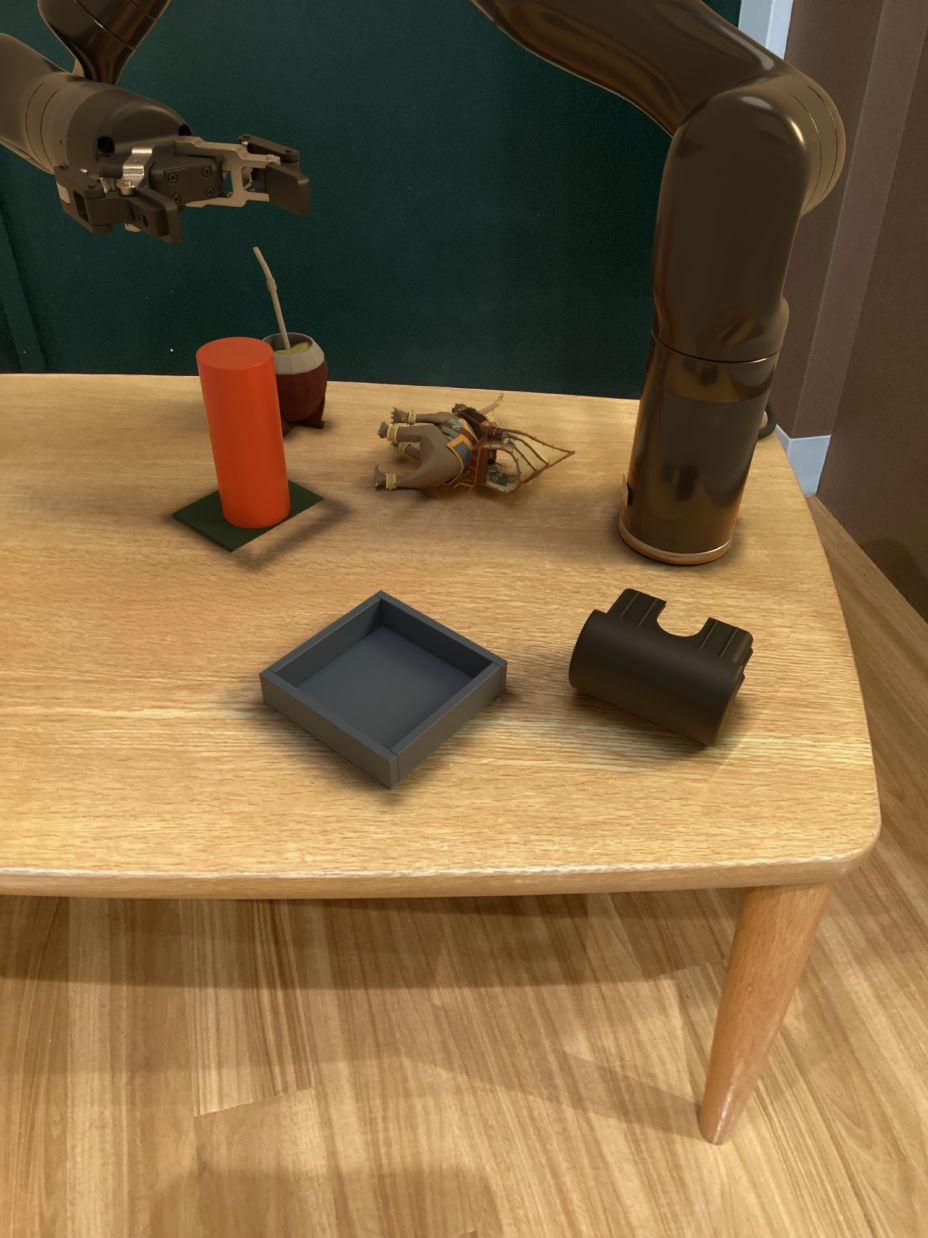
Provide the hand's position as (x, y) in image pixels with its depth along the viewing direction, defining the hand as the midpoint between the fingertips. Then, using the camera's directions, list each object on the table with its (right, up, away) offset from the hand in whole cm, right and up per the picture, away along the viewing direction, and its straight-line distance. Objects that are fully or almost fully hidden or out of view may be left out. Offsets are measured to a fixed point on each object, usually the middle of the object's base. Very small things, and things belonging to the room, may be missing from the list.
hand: (242, 209), depth 53 cm
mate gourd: (-4, -4, +37) cm, 37 cm away
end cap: (+25, -30, +8) cm, 40 cm away
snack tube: (-5, -15, +24) cm, 29 cm away
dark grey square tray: (+8, -29, +8) cm, 31 cm away
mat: (-5, -15, +24) cm, 29 cm away
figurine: (+14, -11, +30) cm, 35 cm away
